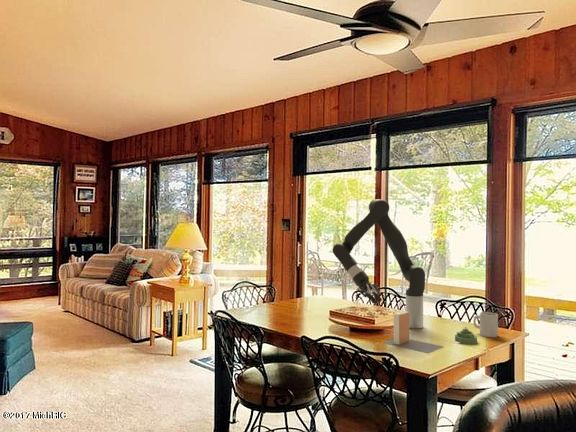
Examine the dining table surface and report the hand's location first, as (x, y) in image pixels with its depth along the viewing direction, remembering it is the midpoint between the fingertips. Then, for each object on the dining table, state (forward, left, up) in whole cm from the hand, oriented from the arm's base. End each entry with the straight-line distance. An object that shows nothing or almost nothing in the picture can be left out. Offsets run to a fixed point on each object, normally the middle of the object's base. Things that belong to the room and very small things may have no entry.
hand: (377, 301), depth 230 cm
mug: (-21, +53, -18) cm, 60 cm away
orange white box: (+7, +12, -17) cm, 22 cm away
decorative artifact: (-5, +42, -18) cm, 46 cm away
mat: (+10, +17, -18) cm, 26 cm away
